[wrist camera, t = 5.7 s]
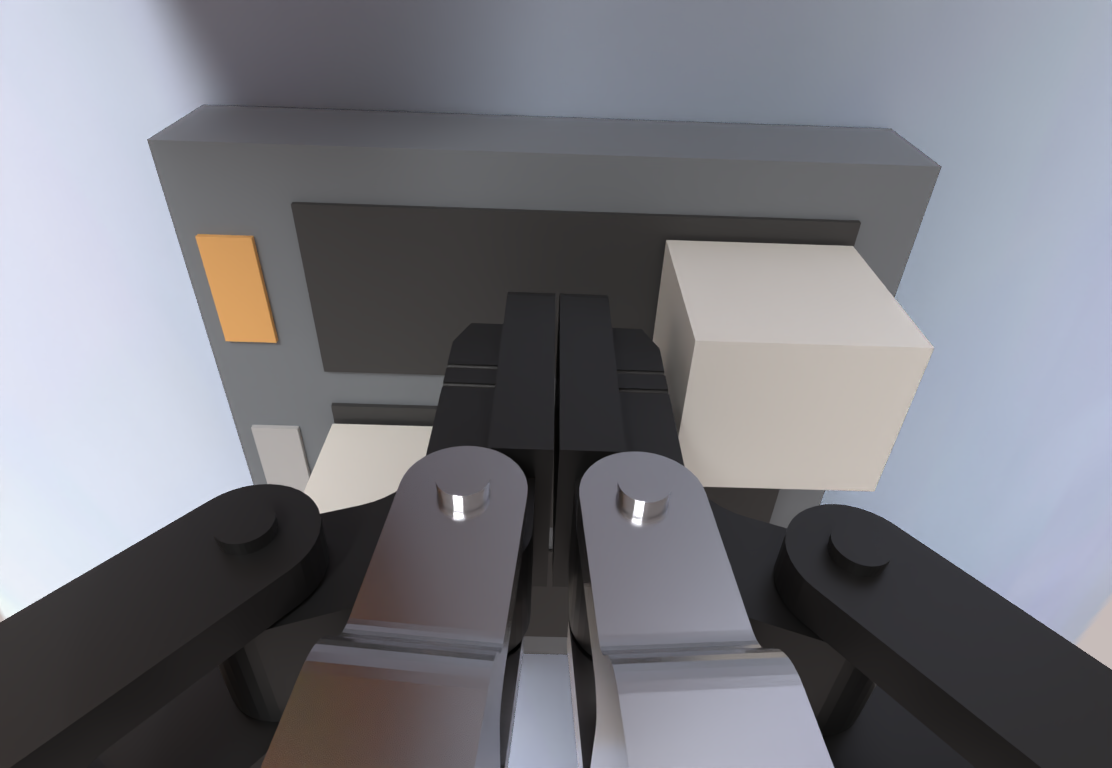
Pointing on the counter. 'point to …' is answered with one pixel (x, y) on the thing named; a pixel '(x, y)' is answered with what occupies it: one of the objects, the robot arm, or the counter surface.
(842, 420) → the tab
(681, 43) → the counter surface
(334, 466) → the tab
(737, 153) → the switch panel
